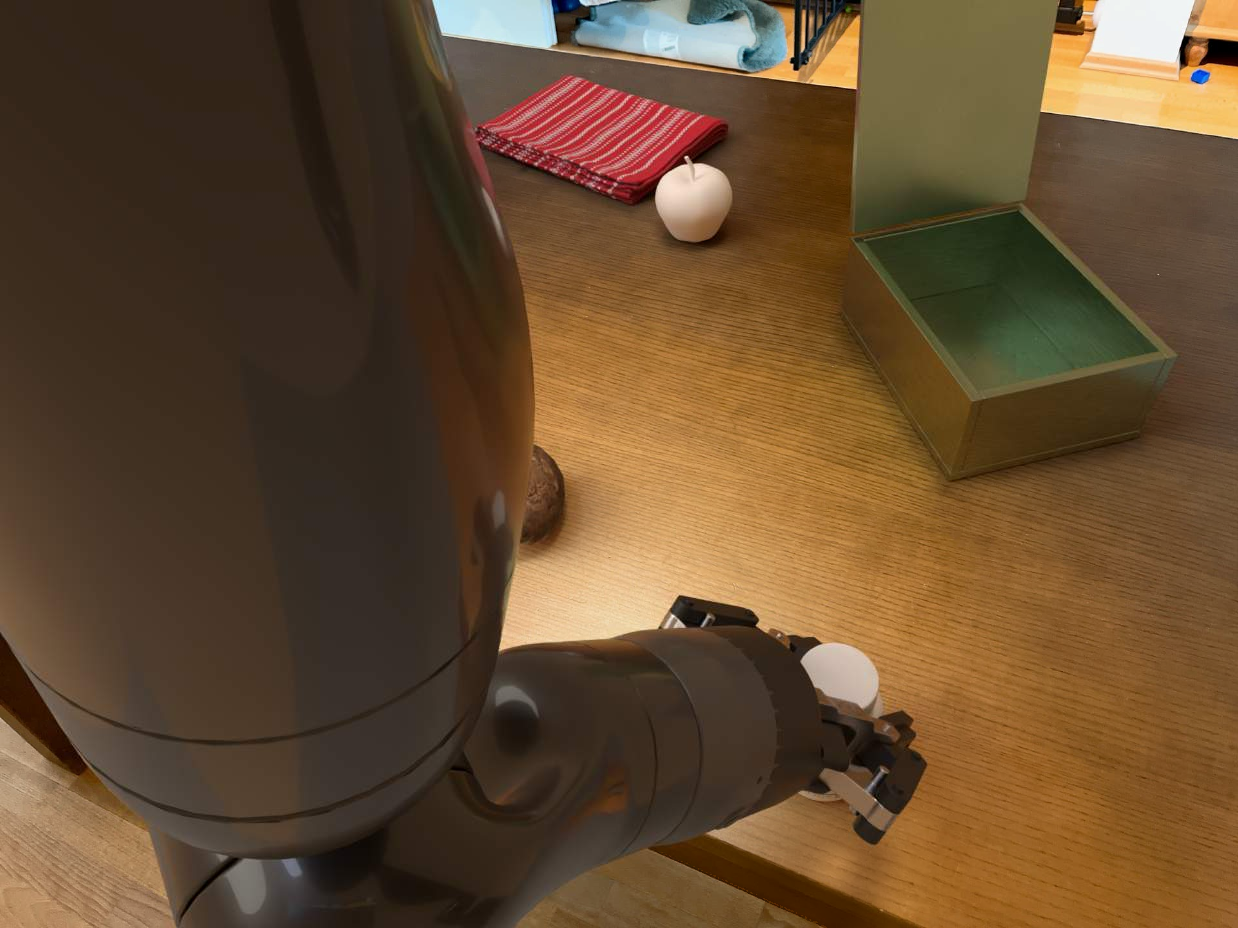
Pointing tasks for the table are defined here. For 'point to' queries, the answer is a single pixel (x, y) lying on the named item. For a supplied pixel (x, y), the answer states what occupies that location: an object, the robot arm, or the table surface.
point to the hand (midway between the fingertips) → (852, 691)
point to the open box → (999, 340)
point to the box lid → (946, 106)
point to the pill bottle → (843, 684)
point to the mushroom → (542, 498)
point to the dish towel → (600, 137)
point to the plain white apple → (693, 201)
